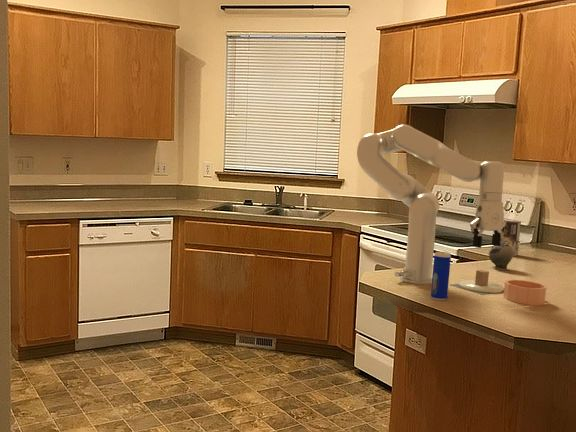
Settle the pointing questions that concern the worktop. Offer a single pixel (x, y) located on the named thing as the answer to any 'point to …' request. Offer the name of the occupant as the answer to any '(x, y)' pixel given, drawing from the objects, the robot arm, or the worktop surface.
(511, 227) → the coffee box
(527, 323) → the worktop surface
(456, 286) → the mat
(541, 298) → the bowl
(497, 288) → the lid
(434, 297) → the beverage can
